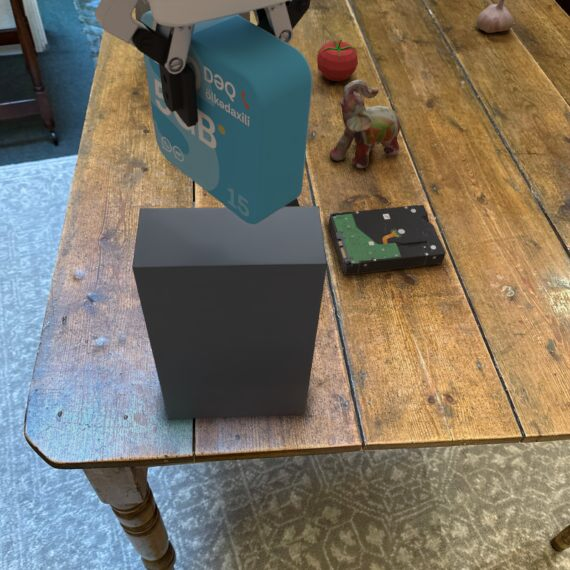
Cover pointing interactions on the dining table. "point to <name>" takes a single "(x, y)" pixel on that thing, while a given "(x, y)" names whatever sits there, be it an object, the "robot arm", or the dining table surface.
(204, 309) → the plinth
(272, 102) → the data package
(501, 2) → the garlic bulb
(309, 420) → the dining table surface
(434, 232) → the disk drive
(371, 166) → the dining table surface
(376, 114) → the figurine
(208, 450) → the dining table surface
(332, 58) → the tomato
